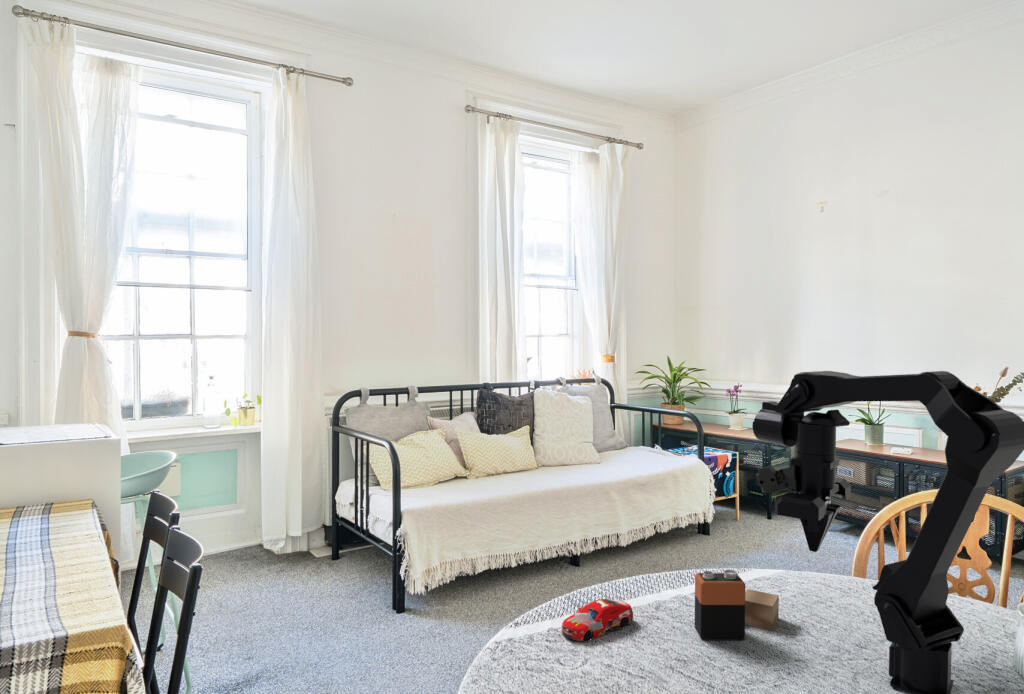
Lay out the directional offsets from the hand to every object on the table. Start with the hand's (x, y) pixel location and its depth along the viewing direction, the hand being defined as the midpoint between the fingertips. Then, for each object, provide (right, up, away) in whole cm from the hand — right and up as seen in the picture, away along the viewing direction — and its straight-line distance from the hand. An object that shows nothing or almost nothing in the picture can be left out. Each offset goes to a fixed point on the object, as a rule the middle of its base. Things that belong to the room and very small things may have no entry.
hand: (813, 550), depth 107 cm
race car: (-34, -14, +3) cm, 36 cm away
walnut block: (-7, -13, +5) cm, 15 cm away
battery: (-15, -13, 0) cm, 20 cm away
